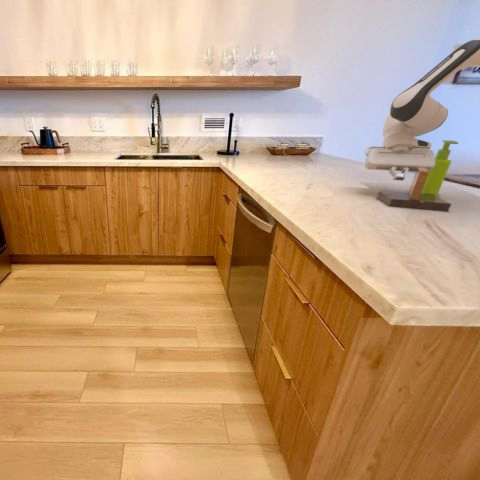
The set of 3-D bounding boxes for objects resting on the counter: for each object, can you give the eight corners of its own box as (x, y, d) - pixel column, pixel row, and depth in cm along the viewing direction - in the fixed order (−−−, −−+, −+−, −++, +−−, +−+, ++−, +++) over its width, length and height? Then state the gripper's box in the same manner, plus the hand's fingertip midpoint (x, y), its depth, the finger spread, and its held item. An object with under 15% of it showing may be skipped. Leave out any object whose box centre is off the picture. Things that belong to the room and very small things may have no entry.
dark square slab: (427, 201, 103) (431, 192, 102) (450, 214, 90) (454, 204, 89) (375, 196, 108) (378, 188, 107) (390, 208, 95) (393, 199, 94)
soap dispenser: (424, 196, 109) (446, 141, 100) (414, 191, 115) (434, 139, 106) (442, 197, 107) (466, 141, 99) (431, 192, 113) (452, 139, 105)
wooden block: (408, 192, 103) (417, 166, 99) (415, 193, 101) (426, 166, 98) (409, 199, 95) (420, 171, 91) (418, 200, 93) (429, 172, 89)
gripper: (369, 140, 106) (368, 172, 102) (437, 143, 100) (439, 176, 96) (362, 151, 112) (361, 182, 108) (426, 154, 106) (428, 186, 102)
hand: (398, 179), depth 102 cm, fingers closed
